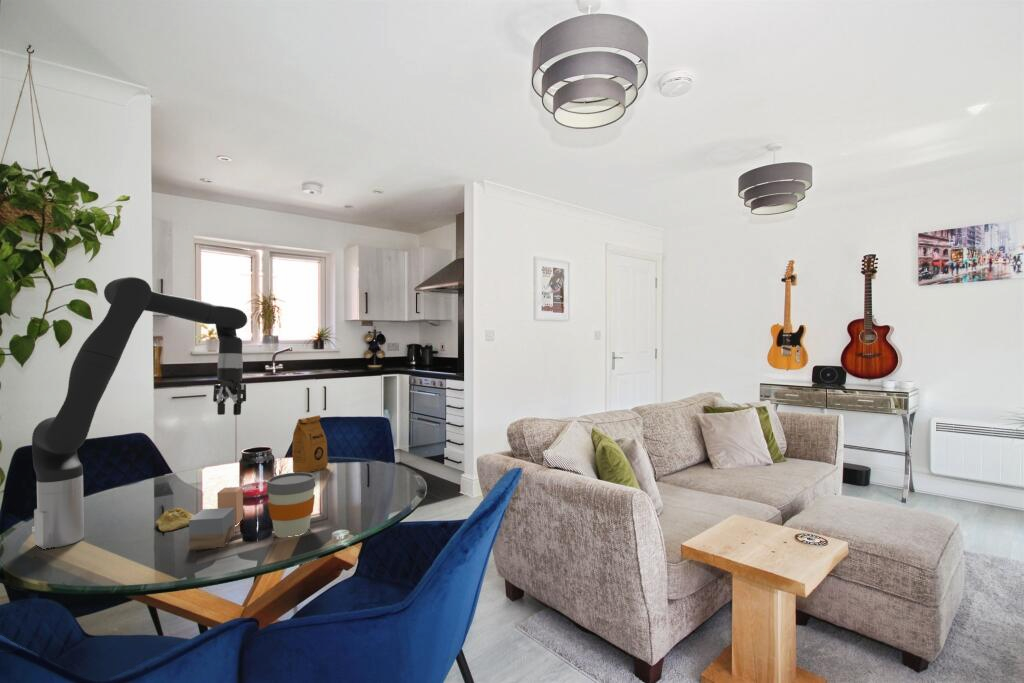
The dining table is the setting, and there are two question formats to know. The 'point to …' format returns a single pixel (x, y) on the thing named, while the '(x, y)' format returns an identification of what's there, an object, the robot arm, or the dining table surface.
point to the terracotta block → (232, 501)
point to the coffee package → (309, 446)
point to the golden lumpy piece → (174, 519)
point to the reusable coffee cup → (291, 502)
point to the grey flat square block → (211, 521)
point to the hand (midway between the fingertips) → (229, 414)
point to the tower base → (211, 539)
